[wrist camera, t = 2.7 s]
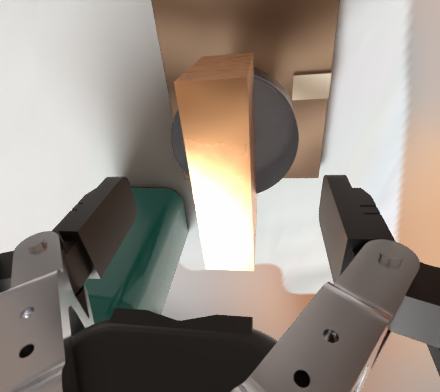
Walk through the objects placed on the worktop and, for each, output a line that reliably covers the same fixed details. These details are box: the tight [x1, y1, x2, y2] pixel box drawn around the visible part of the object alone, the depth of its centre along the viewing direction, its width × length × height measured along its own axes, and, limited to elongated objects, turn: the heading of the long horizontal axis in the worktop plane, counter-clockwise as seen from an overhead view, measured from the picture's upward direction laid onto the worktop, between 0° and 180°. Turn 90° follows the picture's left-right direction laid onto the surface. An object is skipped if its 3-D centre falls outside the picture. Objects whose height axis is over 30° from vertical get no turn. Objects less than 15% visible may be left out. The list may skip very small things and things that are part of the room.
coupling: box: [172, 52, 299, 271], centre depth 15 cm, size 10×7×8 cm
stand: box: [151, 0, 340, 179], centre depth 22 cm, size 18×14×10 cm
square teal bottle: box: [84, 187, 188, 324], centre depth 28 cm, size 10×8×22 cm
